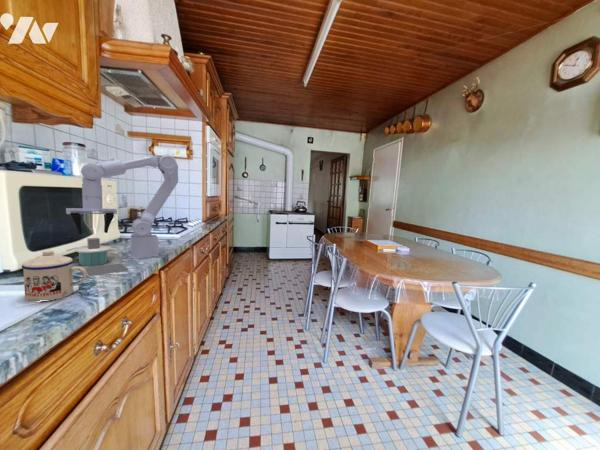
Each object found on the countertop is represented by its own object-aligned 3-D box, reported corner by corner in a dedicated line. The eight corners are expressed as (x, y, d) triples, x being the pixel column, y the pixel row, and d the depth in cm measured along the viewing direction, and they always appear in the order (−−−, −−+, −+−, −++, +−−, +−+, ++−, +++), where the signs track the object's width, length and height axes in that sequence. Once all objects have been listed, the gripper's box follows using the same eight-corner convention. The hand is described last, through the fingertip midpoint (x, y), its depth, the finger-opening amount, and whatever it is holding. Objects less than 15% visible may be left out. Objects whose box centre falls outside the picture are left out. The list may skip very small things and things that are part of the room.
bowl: (104, 260, 96) (104, 246, 95) (108, 264, 91) (108, 250, 90) (78, 263, 90) (78, 248, 90) (81, 268, 85) (80, 252, 85)
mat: (121, 264, 92) (121, 263, 92) (129, 271, 85) (129, 270, 85) (84, 269, 84) (84, 267, 84) (89, 277, 77) (89, 276, 77)
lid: (107, 245, 97) (107, 235, 97) (113, 250, 90) (113, 239, 90) (73, 248, 90) (73, 237, 89) (77, 254, 83) (76, 242, 83)
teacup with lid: (14, 305, 57) (10, 256, 56) (36, 290, 66) (34, 247, 64) (80, 300, 62) (78, 254, 61) (93, 287, 70) (92, 246, 69)
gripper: (67, 196, 85) (68, 235, 86) (118, 198, 95) (119, 233, 97) (65, 195, 89) (66, 232, 91) (114, 197, 100) (114, 230, 101)
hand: (93, 233), depth 94 cm, fingers open, 7 cm apart
